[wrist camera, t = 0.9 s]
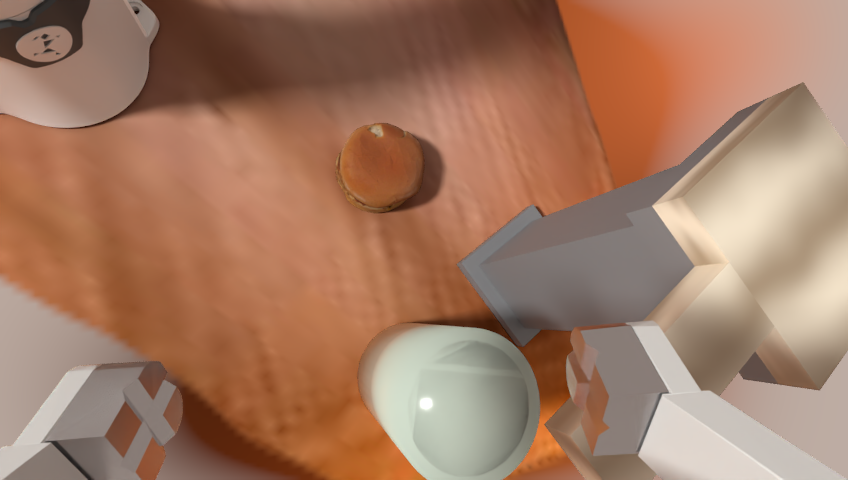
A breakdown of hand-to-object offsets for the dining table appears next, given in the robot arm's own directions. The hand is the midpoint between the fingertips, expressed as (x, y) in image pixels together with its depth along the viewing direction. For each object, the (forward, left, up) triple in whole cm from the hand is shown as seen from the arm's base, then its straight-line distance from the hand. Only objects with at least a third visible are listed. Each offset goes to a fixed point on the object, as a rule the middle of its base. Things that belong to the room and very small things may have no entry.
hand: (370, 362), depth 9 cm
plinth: (+11, +23, -40) cm, 47 cm away
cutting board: (+11, +17, -10) cm, 23 cm away
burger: (-9, +16, -40) cm, 44 cm away
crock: (+11, +5, -40) cm, 42 cm away
